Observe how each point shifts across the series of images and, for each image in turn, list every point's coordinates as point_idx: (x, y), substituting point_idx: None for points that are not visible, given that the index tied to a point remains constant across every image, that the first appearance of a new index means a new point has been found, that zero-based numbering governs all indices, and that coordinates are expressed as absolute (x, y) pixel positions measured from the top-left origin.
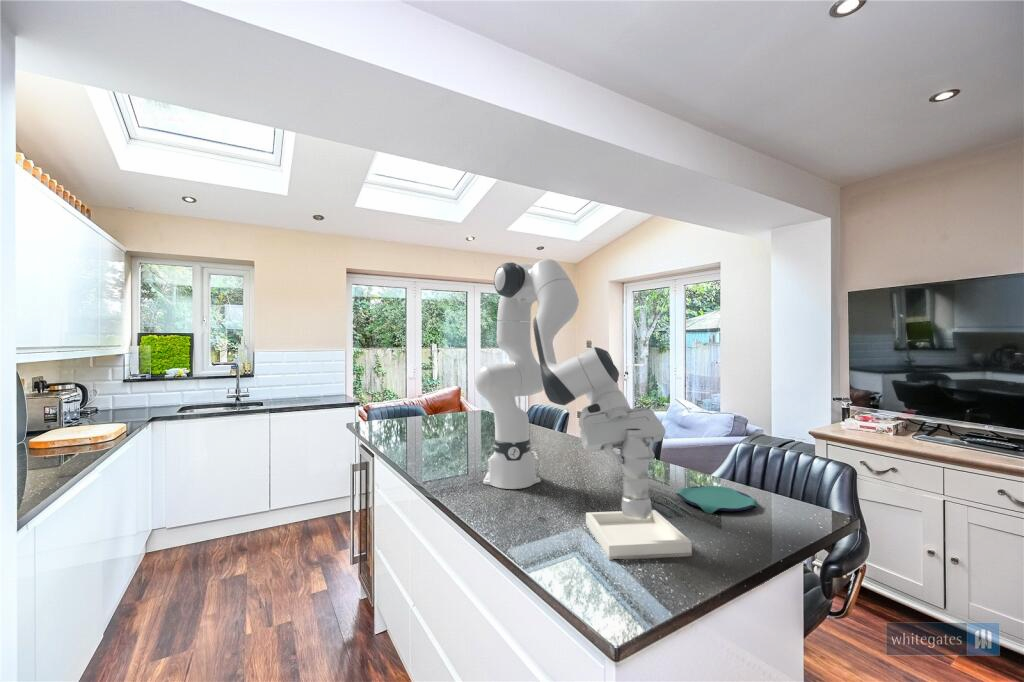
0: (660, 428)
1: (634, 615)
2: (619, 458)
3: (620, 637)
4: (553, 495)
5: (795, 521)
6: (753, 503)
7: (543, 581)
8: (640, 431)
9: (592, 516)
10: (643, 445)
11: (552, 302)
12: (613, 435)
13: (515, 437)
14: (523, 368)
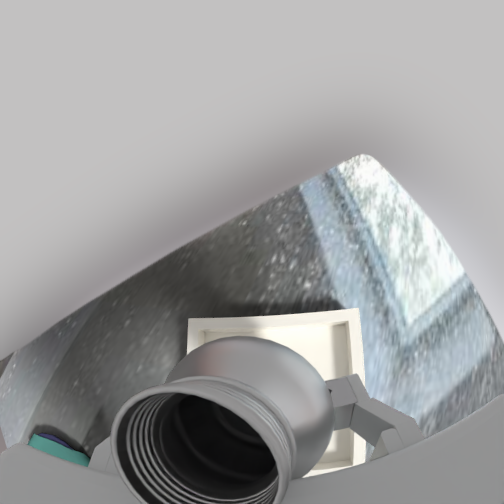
0: (10, 463)
1: (343, 184)
2: (344, 384)
3: (361, 159)
4: None
5: (22, 389)
6: (32, 437)
7: (446, 251)
8: (146, 390)
9: (355, 454)
10: (184, 369)
11: None
12: (382, 497)
13: None
14: None
